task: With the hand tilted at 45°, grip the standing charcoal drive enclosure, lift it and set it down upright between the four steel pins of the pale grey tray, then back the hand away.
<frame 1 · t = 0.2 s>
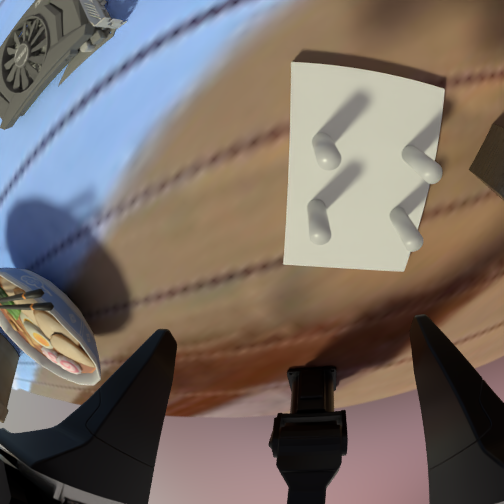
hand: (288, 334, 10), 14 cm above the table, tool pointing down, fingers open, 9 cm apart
plant pot: (2, 340, 55), on the table
graphics card: (46, 39, 15), on the table
ramen bowl: (58, 300, 36), on the table
drive: (493, 157, 17), on the table
pin tray: (360, 174, 20), on the table
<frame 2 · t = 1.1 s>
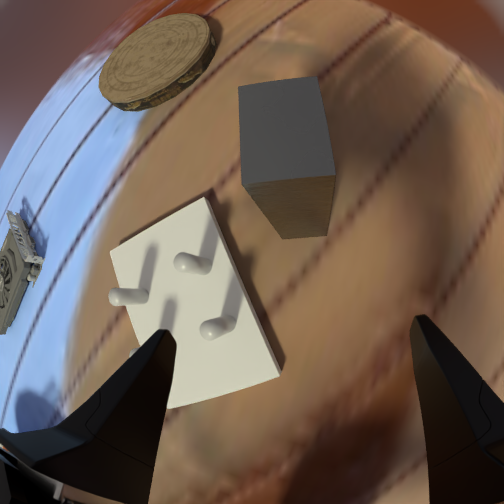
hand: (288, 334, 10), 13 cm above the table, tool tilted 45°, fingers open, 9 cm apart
graphics card: (16, 275, 32), on the table
drive: (301, 207, 23), on the table
brown flat round piece: (160, 65, 30), on the table
pin tray: (187, 308, 25), on the table
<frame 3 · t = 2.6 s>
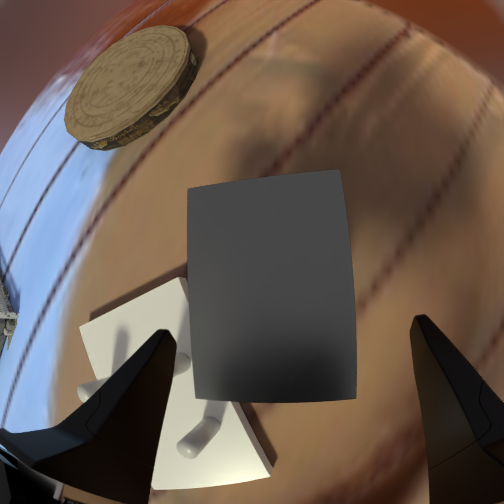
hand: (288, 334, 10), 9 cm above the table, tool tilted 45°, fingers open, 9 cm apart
drive: (301, 293, 19), on the table
brown flat round piece: (134, 90, 26), on the table
pin tray: (167, 399, 19), on the table
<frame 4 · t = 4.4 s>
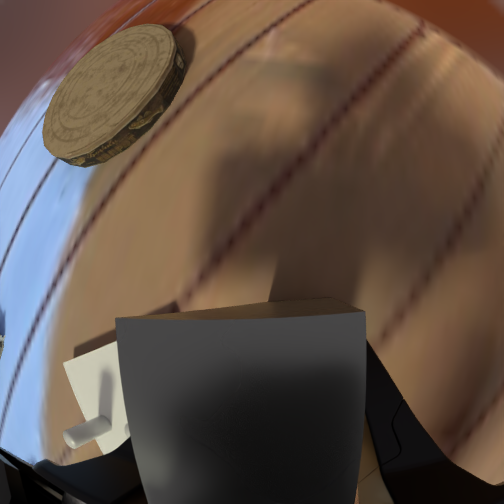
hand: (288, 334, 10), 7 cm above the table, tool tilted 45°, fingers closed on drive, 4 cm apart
drive: (300, 342, 16), on the table, touching gripper
brown flat round piece: (116, 97, 23), on the table
pin tray: (157, 441, 17), on the table
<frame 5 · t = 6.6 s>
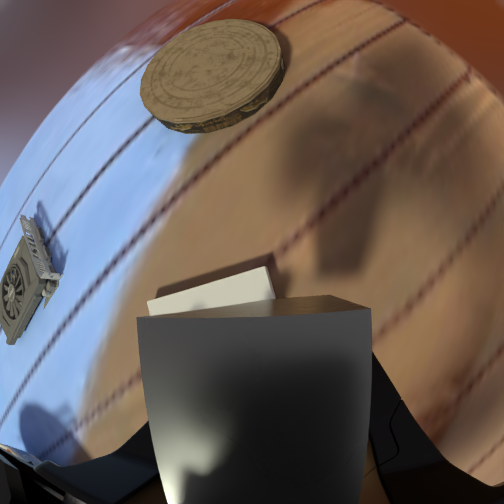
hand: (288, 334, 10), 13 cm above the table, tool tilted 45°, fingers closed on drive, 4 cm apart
graphics card: (27, 284, 31), on the table
ramen bowl: (63, 489, 26), on the table
drive: (301, 339, 16), point 6 cm above the table, touching gripper
brown flat round piece: (214, 78, 28), on the table
pin tray: (231, 374, 23), on the table
when the fingers open (9 cm above the table, at t = 9.0 s): drive stays where it is, resting on pin tray.
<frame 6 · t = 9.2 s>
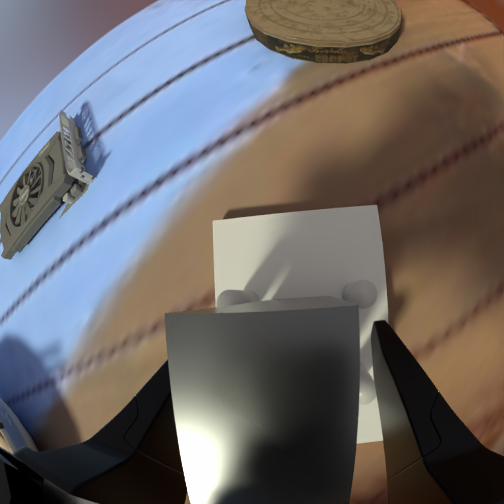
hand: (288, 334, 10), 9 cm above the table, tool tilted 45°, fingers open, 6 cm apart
graphics card: (45, 191, 27), on the table
ramen bowl: (27, 444, 24), on the table
drive: (301, 337, 17), point 1 cm above the table, touching pin tray
brown flat round piece: (324, 21, 22), on the table
pin tray: (303, 335, 18), on the table
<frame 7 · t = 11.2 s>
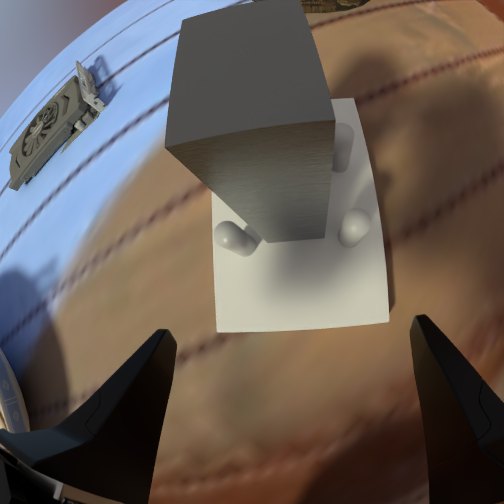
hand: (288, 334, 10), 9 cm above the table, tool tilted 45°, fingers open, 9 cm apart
graphics card: (57, 129, 28), on the table
ramen bowl: (13, 392, 25), on the table
drive: (292, 202, 18), point 1 cm above the table, touching pin tray
pin tray: (294, 208, 19), on the table
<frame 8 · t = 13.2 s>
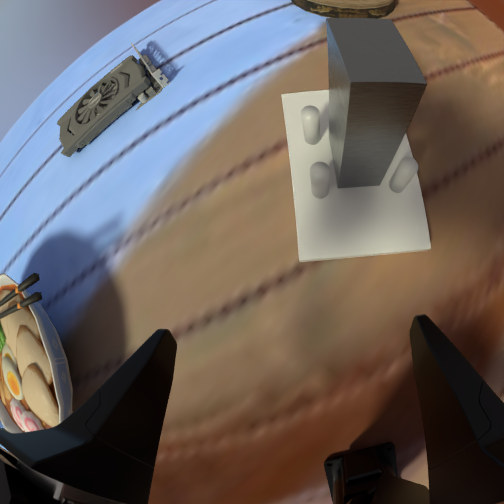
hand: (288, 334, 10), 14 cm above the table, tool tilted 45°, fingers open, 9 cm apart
graphics card: (111, 103, 33), on the table
ramen bowl: (48, 362, 29), on the table
drive: (353, 159, 22), point 1 cm above the table, touching pin tray
pin tray: (353, 165, 23), on the table
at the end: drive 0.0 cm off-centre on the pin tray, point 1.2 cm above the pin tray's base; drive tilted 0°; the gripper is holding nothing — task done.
